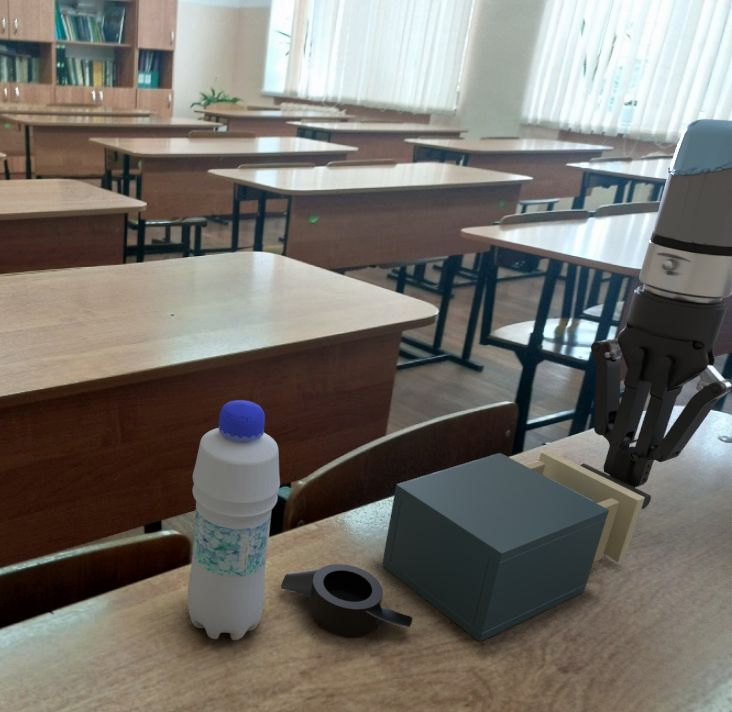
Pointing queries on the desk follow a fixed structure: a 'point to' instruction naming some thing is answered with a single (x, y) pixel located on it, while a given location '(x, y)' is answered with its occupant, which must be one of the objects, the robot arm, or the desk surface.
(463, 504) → the cabinet
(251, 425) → the bottle
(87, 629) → the desk surface
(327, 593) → the black winged ring
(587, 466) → the drawer
